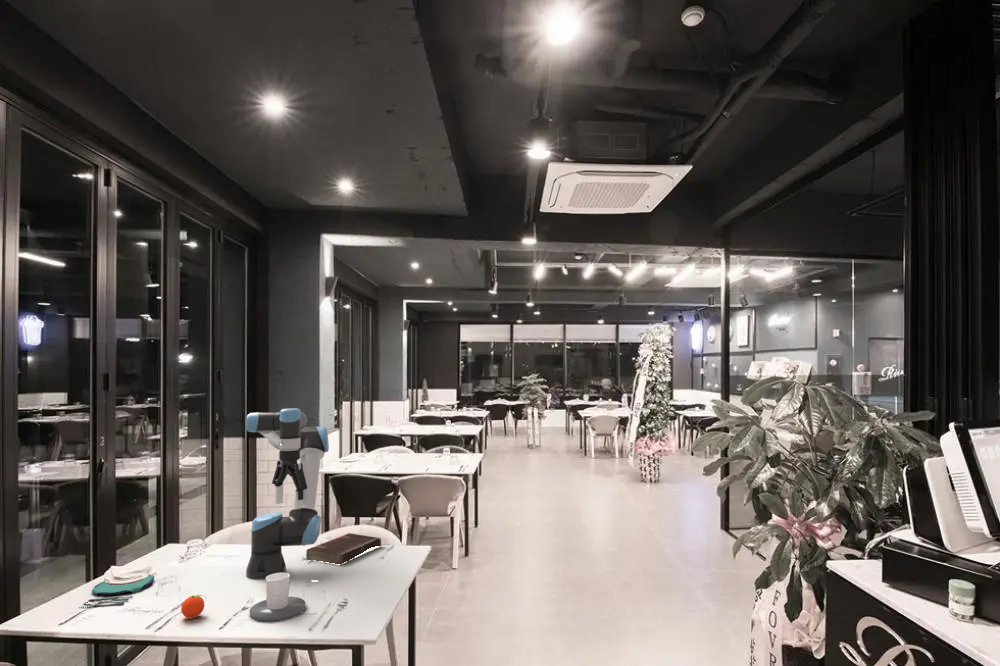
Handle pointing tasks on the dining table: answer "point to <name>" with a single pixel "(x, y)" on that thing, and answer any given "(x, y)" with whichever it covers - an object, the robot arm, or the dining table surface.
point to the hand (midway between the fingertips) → (288, 506)
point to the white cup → (277, 590)
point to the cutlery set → (118, 591)
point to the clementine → (192, 606)
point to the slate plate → (267, 615)
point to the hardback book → (342, 548)
